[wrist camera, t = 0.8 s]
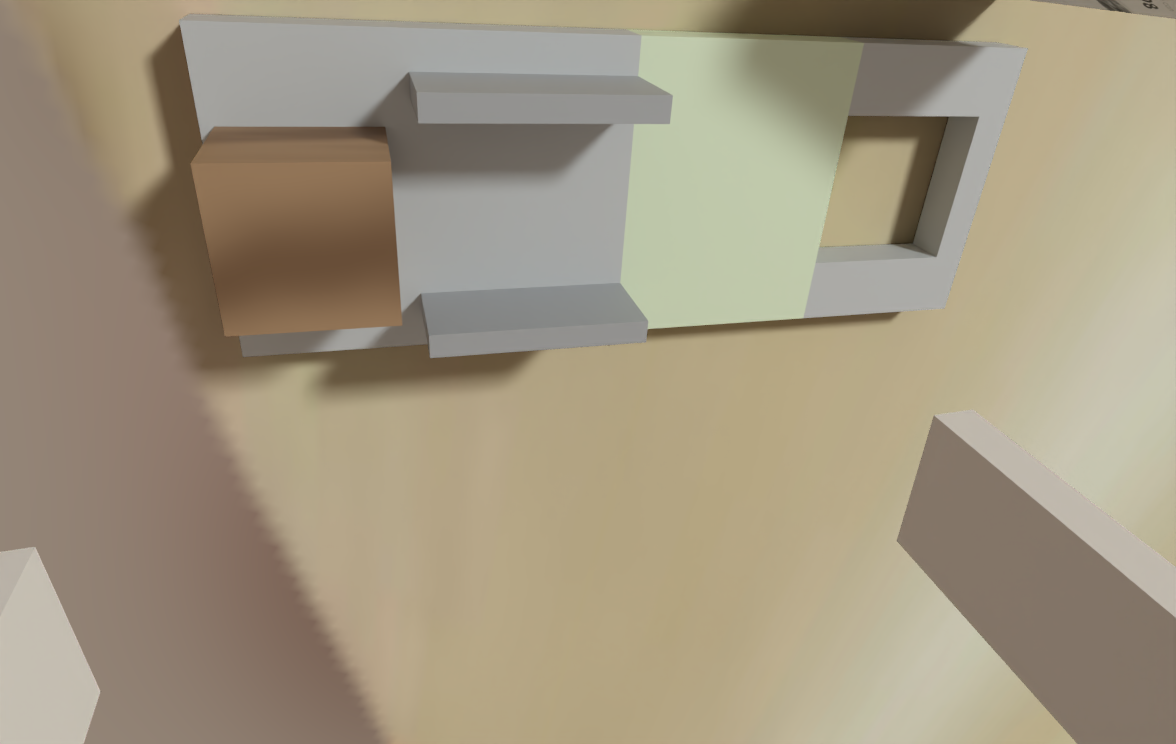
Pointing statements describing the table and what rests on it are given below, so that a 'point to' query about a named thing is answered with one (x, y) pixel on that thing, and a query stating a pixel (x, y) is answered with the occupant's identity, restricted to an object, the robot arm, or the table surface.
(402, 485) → the table surface
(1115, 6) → the ink box
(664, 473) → the table surface
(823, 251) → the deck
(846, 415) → the table surface
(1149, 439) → the table surface
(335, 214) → the block
